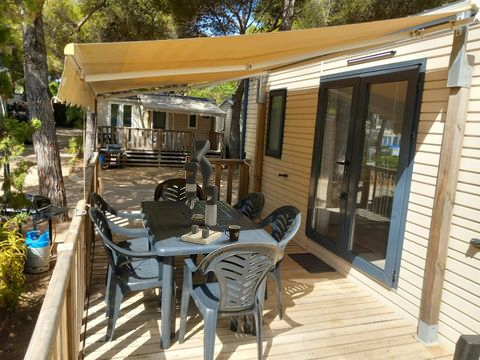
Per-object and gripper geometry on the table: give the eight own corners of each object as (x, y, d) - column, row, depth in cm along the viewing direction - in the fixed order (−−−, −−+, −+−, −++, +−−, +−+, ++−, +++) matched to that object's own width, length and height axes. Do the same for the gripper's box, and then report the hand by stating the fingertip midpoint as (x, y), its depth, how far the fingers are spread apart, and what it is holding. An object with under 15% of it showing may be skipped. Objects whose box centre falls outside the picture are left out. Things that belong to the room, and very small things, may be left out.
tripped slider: (193, 231, 283) (194, 224, 282) (198, 232, 281) (198, 225, 280) (191, 232, 279) (191, 225, 279) (196, 233, 278) (196, 226, 277)
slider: (204, 235, 273) (204, 229, 272) (209, 236, 271) (209, 229, 270) (201, 237, 269) (201, 230, 269) (206, 237, 268) (206, 231, 267)
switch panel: (198, 232, 293) (198, 228, 293) (221, 236, 286) (221, 232, 285) (181, 240, 271) (181, 235, 271) (206, 244, 264) (206, 240, 263)
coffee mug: (238, 238, 282) (239, 225, 280) (240, 242, 273) (241, 228, 272) (223, 238, 280) (223, 225, 279) (224, 242, 272) (225, 228, 270)
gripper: (191, 188, 276) (190, 211, 279) (181, 190, 264) (180, 215, 267) (200, 189, 274) (199, 212, 276) (190, 191, 261) (190, 216, 264)
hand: (190, 213), depth 271 cm, fingers closed
